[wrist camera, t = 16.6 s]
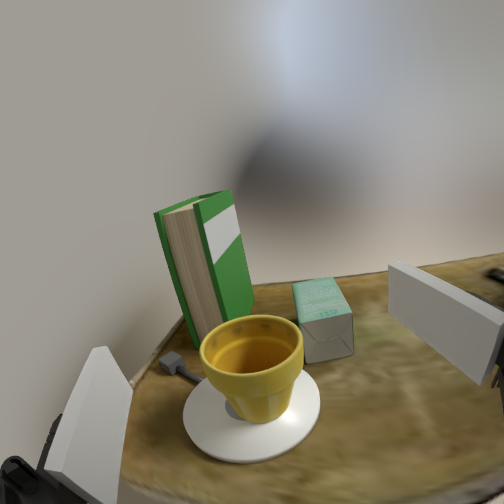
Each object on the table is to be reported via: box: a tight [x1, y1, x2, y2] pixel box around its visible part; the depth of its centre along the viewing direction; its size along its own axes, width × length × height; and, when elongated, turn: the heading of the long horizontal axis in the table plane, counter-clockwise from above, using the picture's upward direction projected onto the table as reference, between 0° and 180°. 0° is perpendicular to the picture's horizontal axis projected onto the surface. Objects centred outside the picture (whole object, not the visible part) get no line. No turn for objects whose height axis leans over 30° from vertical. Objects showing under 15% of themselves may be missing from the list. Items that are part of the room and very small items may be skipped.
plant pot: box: [199, 315, 304, 423], centre depth 28 cm, size 10×10×10 cm
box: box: [292, 277, 354, 364], centre depth 41 cm, size 7×14×8 cm, turn 177°
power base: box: [158, 351, 320, 464], centre depth 33 cm, size 26×17×2 cm, turn 51°
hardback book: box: [154, 189, 255, 350], centre depth 49 cm, size 18×7×24 cm, turn 170°
